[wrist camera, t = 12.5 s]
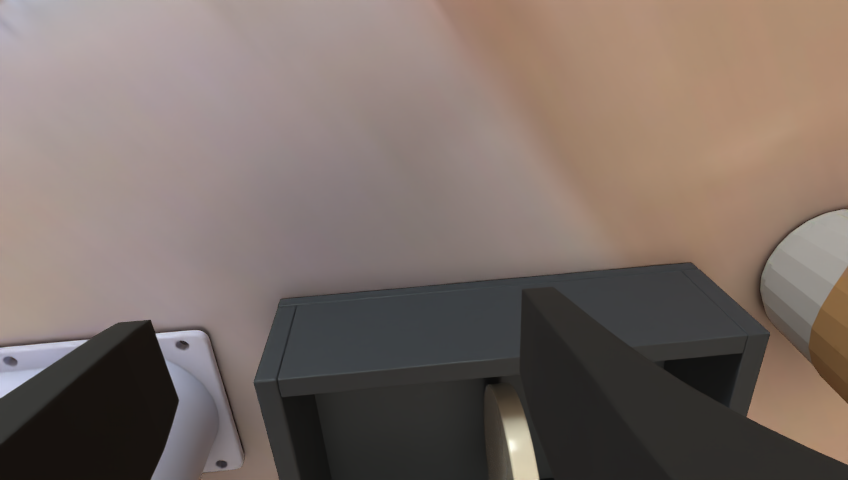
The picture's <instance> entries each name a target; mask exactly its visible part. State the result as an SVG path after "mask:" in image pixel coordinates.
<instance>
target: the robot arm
mask: <svg viewBox="0 0 848 480" xmlns="http://www.w3.org/2000/svg"><path fill="white" fill-rule="evenodd" d="M180 341H185V342H187V343H188V344H189V345H184V344H182V343H181V342H180ZM11 357H13V358H15V359H16V360H14V359H12V358H11ZM519 371H520V375H521V379H522V384H523V388H524V392H525V396H526V400H527V404H528V408H529V412H530V415H531V418H532V421H533V424H534V427H535V429H536V432H537V435H538V437H539V440H540V442H541V445H542V448H543V450H544V453H545V456H546V458H547V461H548V463H549V466H550V468H551V471H552V474H553V476H554V479H555V480H848V465H847V464H844V463H842V462H840V461H837V460H835V459H833V458H831V457H828V456H826V455H824V454H822V453H819V452H817V451H815V450H812V449H810V448H808V447H806V446H804V445H802V444H800V443H798V442H796V441H793V440H791V439H789V438H787V437H785V436H783V435H781V434H779V433H777V432H775V431H773V430H771V429H768V428H766V427H764V426H762V425H760V424H758V423H756V422H754V421H752V420H751V419H749V418H747V417H745V416H743V415H741V414H739V413H737V412H735V411H733V410H732V409H730V408H728V407H726V406H724V405H723V404H721V403H719V402H717V401H716V400H714V399H712V398H710V397H709V396H707V395H705V394H703V393H701V392H700V391H698V390H696V389H694V388H693V387H691V386H690V385H688V384H686V383H685V382H683V381H681V380H680V379H678V378H677V377H675V376H673V375H672V374H670V373H669V372H667V371H666V370H664V369H663V368H661V367H660V366H658V365H657V364H655V363H654V362H652V361H651V360H649V359H648V358H646V357H645V356H643V355H642V354H640V353H639V352H638V351H636V350H635V349H633V348H632V347H631V346H629V345H628V344H626V343H625V342H624V341H622V340H621V339H620V338H618V337H617V336H616V335H614V334H613V333H612V332H610V331H609V330H608V329H606V328H605V327H604V326H602V325H601V324H600V323H599V322H597V321H596V320H595V319H593V318H592V317H591V316H590V315H588V314H587V313H586V312H585V311H583V310H582V309H581V308H580V307H578V306H577V305H576V304H575V303H573V302H572V301H571V300H570V299H568V298H567V297H566V296H565V295H563V294H562V293H561V292H559V291H558V290H557V289H555V288H554V287H542V288H530V289H522V305H521V336H520V368H519ZM244 459H245V456H244V453H243V449H242V446H241V443H240V439H239V436H238V433H237V429H236V426H235V423H234V419H233V416H232V413H231V409H230V406H229V403H228V399H227V396H226V393H225V389H224V386H223V383H222V379H221V376H220V373H219V369H218V366H217V363H216V359H215V356H214V353H213V349H212V346H211V343H210V339H209V337H208V335H207V334H206V333H204V332H202V331H200V330H188V331H177V332H166V333H155V331H154V328H153V326H152V323H151V320H144V321H132V322H120V323H117V324H115V325H113V326H111V327H110V328H108V329H106V330H104V331H103V332H101V333H99V334H98V335H96V336H94V337H93V338H91V339H89V340H78V341H67V342H56V343H45V344H34V345H23V346H12V347H0V480H200V478H201V475H202V473H206V472H216V471H226V470H235V469H239V468H240V467H242V465H243V463H244ZM221 460H224V461H221Z"/></svg>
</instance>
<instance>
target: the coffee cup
mask: <svg viewBox="0 0 848 480" xmlns="http://www.w3.org/2000/svg"><path fill="white" fill-rule="evenodd" d="M760 293H761V297H762V301H763V304H764V308H765V312H766V315H767V316H768V318H769V319H770V321H771V322H772V323H773V325H774V326H775V327H776V328H777V329H778V330H779V331H780V332H781V333H782V334H783V335H784V336H785V337H786V338H787V339H788V340H789V341H790V342H791V343H792V344H793V345H794V346H795V347H796V348H797V349H798V350H799V351H800V352H801V353H802V354H803V355H804V356H805V357H806V358H807V359H808V360H809V361H810V362H811V363H812V364H813V366H814V367H815V369H816V370H817V371H818V373H819V374H820V376H821V377H822V378H823V379H824V380H825V381H826V382H827V383H828V384H829V385H830V386H831V387H832V388H833V389H834V390H835V391H836V392H837V393H838V394H839V395H840V396H841V397H842V398H843V399H844V400H845V401H846V402H847V403H848V209H843V210H838V211H833V212H829V213H825V214H823V215H820V216H818V217H816V218H814V219H811V220H809V221H807V222H806V223H804V224H803V225H801V226H800V227H798V228H797V229H795V230H794V231H792V232H791V233H790V234H789V235H788V236H787V237H786V238H785V239H784V240H783V241H782V242H781V243H780V244H779V245H778V246H777V247H776V249H775V250H774V252H773V253H772V255H771V256H770V258H769V259H768V261H767V263H766V265H765V268H764V271H763V273H762V276H761V285H760Z"/></svg>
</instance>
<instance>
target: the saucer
mask: <svg viewBox="0 0 848 480" xmlns="http://www.w3.org/2000/svg"><path fill="white" fill-rule="evenodd" d="M484 434H485V446H486V457H487V466H488V474H489V480H540V478H539V472H538V467H537V462H536V457H535V452H534V447H533V443H532V439H531V434H530V430H529V427H528V423H527V419H526V416H525V413H524V410H523V407H522V404H521V401H520V399H519V397H518V394H517V392H516V390H515V389H514V387H513V386H512V384H510V383H509V382H500V383H490V384H488V385H487V386H486V389H485V394H484Z"/></svg>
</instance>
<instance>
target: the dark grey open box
mask: <svg viewBox="0 0 848 480" xmlns="http://www.w3.org/2000/svg"><path fill="white" fill-rule="evenodd" d="M542 287H554V288H555V289H557V290H558V291H559V292H561V293H562V294H563V295H565V296H566V297H567V298H568V299H570V300H571V301H572V302H573V303H575V304H576V305H577V306H578V307H580V308H581V309H582V310H583V311H585V312H586V313H587V314H588V315H590V316H591V317H592V318H593V319H595V320H596V321H597V322H599V323H600V324H601V325H602V326H604V327H605V328H606V329H608V330H609V331H610V332H612V333H613V334H614V335H616V336H617V337H618V338H620V339H621V340H622V341H624V342H625V343H626V344H628V345H629V346H631V347H632V348H633V349H635V350H636V351H638V352H639V353H640V354H642V355H643V356H645V357H646V358H648V359H649V360H651V361H652V362H654V363H655V364H657V365H658V366H660V367H661V368H663V369H664V370H666V371H667V372H669V373H670V374H672V375H673V376H675V377H677V378H678V379H680V380H681V381H683V382H685V383H686V384H688V385H690V386H691V387H693V388H694V389H696V390H698V391H700V392H701V393H703V394H705V395H707V396H709V397H710V398H712V399H714V400H716V401H717V402H719V403H721V404H723V405H724V406H726V407H728V408H730V409H732V410H733V411H735V412H737V413H739V414H741V415H743V416H745V417H746V416H747V413H748V409H749V406H750V402H751V399H752V395H753V392H754V388H755V385H756V381H757V378H758V374H759V371H760V367H761V364H762V360H763V357H764V353H765V350H766V346H767V343H768V339H769V336H770V332H769V331H768V330H766V329H765V328H764V327H763V326H762V325H761V324H760V323H759V322H758V321H756V320H755V319H754V318H753V317H752V316H751V315H750V314H749V313H748V312H746V311H745V310H744V309H743V308H742V307H741V306H740V305H739V304H737V303H736V302H735V301H734V300H733V299H732V298H731V297H730V296H729V295H727V294H726V293H725V292H724V291H723V290H722V289H721V288H720V287H719V286H717V285H716V284H715V283H714V282H713V281H712V280H711V279H710V278H709V277H707V276H706V275H705V274H704V273H703V272H702V271H701V270H699V269H698V268H697V267H696V266H695V265H694V264H693V263H681V264H670V265H659V266H648V267H636V268H625V269H614V270H603V271H592V272H580V273H569V274H558V275H547V276H536V277H524V278H513V279H502V280H491V281H480V282H468V283H457V284H446V285H435V286H423V287H412V288H401V289H390V290H379V291H367V292H356V293H345V294H334V295H323V296H311V297H300V298H289V299H281V300H280V302H279V305H278V309H277V312H276V315H275V318H274V321H273V324H272V327H271V330H270V333H269V336H268V339H267V343H266V346H265V349H264V352H263V355H262V358H261V361H260V364H259V367H258V370H257V373H256V376H255V379H254V386H255V389H256V393H257V397H258V401H259V404H260V408H261V412H262V416H263V419H264V423H265V427H266V431H267V434H268V438H269V442H270V446H271V450H272V453H273V457H274V461H275V465H276V468H277V472H278V476H279V480H489V474H488V466H487V457H486V446H485V434H484V394H485V389H486V386H487V385H488V384H490V383H500V382H509V383H510V384H512V386H513V387H514V389H515V390H516V392H517V394H518V397H519V399H520V401H521V404H522V407H523V410H524V413H525V416H526V419H527V423H528V427H529V430H530V434H531V439H532V443H533V447H534V452H535V457H536V462H537V467H538V472H539V478H540V480H555V479H554V476H553V474H552V471H551V468H550V466H549V463H548V461H547V458H546V456H545V453H544V450H543V448H542V445H541V442H540V440H539V437H538V435H537V432H536V429H535V427H534V424H533V421H532V418H531V415H530V412H529V408H528V404H527V400H526V396H525V392H524V388H523V384H522V379H521V375H520V371H519V368H520V336H521V305H522V289H530V288H542Z"/></svg>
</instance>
